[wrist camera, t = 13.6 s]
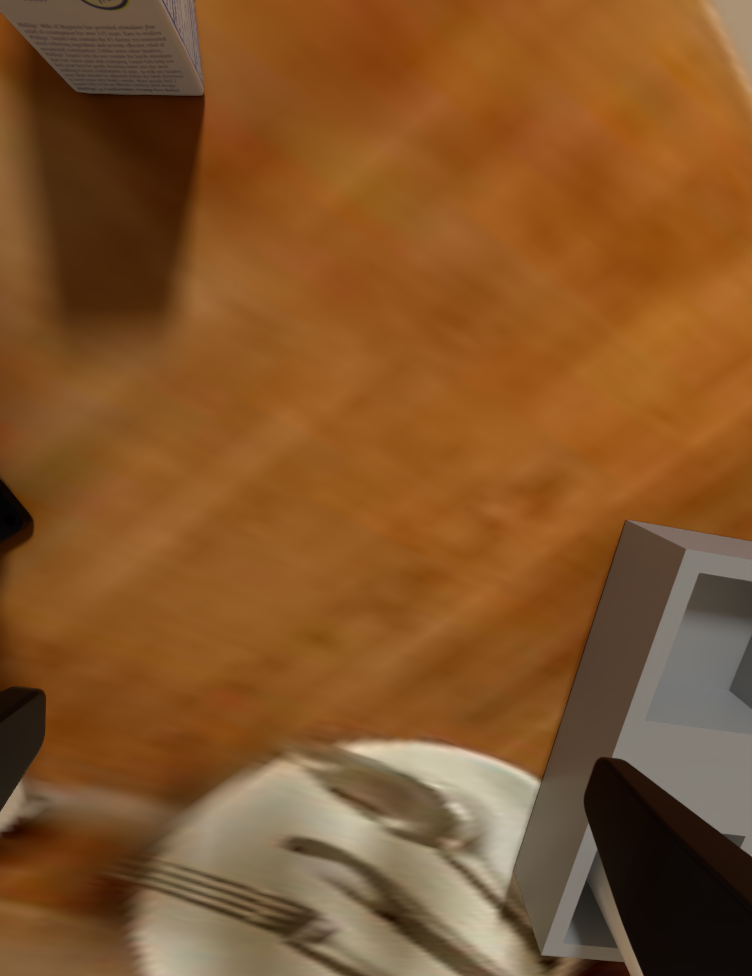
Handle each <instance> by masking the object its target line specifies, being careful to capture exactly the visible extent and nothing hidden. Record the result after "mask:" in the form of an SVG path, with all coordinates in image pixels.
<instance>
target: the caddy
mask: <svg viewBox="0 0 752 976" xmlns="http://www.w3.org/2000/svg"><path fill="white" fill-rule="evenodd" d="M599 757H610V758H619V759H623V760H625V761H627V762H628V763H629V764H631V765H632V766H633V767H635V768H636V769H637V770H639V771H640V772H641V773H643V774H644V775H645V776H646V777H648V778H649V779H650V780H652V781H653V782H654V783H656V784H657V785H658V786H660V787H661V788H662V789H664V790H665V791H666V792H668V793H669V794H670V795H671V796H673V797H674V798H675V799H677V800H678V801H679V802H681V803H682V804H683V805H685V806H686V807H687V808H689V809H690V810H691V811H693V812H694V813H695V814H696V815H698V816H699V817H700V818H702V819H703V820H704V821H706V822H707V823H708V824H710V825H711V826H712V827H714V828H715V829H716V830H718V831H719V832H720V833H721V834H723V835H724V836H725V837H727V838H728V839H729V840H731V841H732V842H733V843H735V844H736V845H737V846H739V847H740V848H741V849H742V850H744V851H745V852H746V853H748V854H749V855H750V856H752V541H746V540H741V539H735V538H729V537H723V536H717V535H712V534H706V533H700V532H694V531H689V530H683V529H677V528H671V527H665V526H660V525H654V524H648V523H642V522H637V521H631V520H626V522H625V525H624V528H623V532H622V535H621V538H620V541H619V544H618V547H617V550H616V553H615V556H614V560H613V563H612V566H611V569H610V572H609V575H608V578H607V581H606V585H605V588H604V591H603V594H602V597H601V600H600V603H599V606H598V609H597V613H596V616H595V619H594V622H593V625H592V628H591V631H590V634H589V637H588V641H587V644H586V647H585V650H584V653H583V656H582V659H581V662H580V665H579V669H578V672H577V675H576V678H575V681H574V684H573V687H572V690H571V693H570V697H569V700H568V703H567V706H566V709H565V712H564V715H563V718H562V722H561V725H560V728H559V731H558V734H557V737H556V740H555V743H554V746H553V750H552V753H551V756H550V759H549V762H548V765H547V768H546V771H545V774H544V778H543V781H542V784H541V787H540V790H539V793H538V796H537V799H536V802H535V806H534V809H533V812H532V815H531V818H530V821H529V824H528V827H527V830H526V834H525V837H524V840H523V843H522V846H521V849H520V852H519V855H518V859H517V862H516V865H515V868H514V874H515V877H516V880H517V883H518V886H519V889H520V892H521V895H522V898H523V901H524V904H525V907H526V910H527V913H528V916H529V919H530V922H531V925H532V929H533V932H534V935H535V938H536V941H537V944H538V947H539V950H540V953H541V955H545V956H558V957H570V958H582V959H595V960H607V961H619V962H624V960H623V958H622V955H621V953H620V951H619V949H618V947H617V945H616V942H615V940H614V938H613V936H612V934H611V932H610V929H609V927H608V925H607V923H606V921H605V919H604V916H603V914H602V912H601V910H600V908H599V905H598V903H597V901H596V899H595V897H594V895H593V892H592V890H591V888H590V886H589V884H588V882H587V879H586V878H587V876H588V873H589V870H590V868H591V865H592V862H593V860H594V857H595V854H596V851H597V847H596V844H595V841H594V838H593V835H592V832H591V829H590V826H589V823H588V820H587V817H586V814H585V810H584V802H583V799H584V792H585V789H586V787H587V784H588V781H589V778H590V775H591V772H592V769H593V766H594V763H595V761H596V760H597V759H598V758H599Z"/></svg>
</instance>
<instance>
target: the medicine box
mask: <svg viewBox="0 0 752 976" xmlns="http://www.w3.org/2000/svg"><path fill="white" fill-rule="evenodd" d="M0 12H1V13H2V14H3V15H4V16H5V17H6V18H7V19H8V20H9V21H10V23H11V24H12V25H13V26H14V27H15V28H16V29H17V30H18V31H19V32H20V34H21V35H22V36H23V37H24V38H25V39H26V40H27V41H28V42H29V43H30V44H31V45H32V46H33V47H34V48H35V49H36V50H37V51H38V52H39V54H40V55H41V56H42V57H43V58H44V59H45V60H46V61H47V62H48V63H49V65H50V66H51V67H52V68H53V69H54V70H55V71H56V72H57V73H58V74H59V75H60V76H61V77H62V78H63V79H64V80H65V81H66V82H67V83H68V84H69V85H70V86H71V87H72V88H73V89H74V90H75V91H76V92H82V93H87V94H117V95H175V96H202V95H203V93H204V86H203V77H202V68H201V59H200V50H199V41H198V32H197V22H196V13H195V4H194V0H0Z"/></svg>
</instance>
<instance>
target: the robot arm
mask: <svg viewBox="0 0 752 976" xmlns="http://www.w3.org/2000/svg"><path fill="white" fill-rule="evenodd" d="M11 515H13V516H14V517H15V518H16V520H17V523H14V522H13V521H12V519H11ZM29 523H30V516H29V514H28V512H27V511H26V510H25V508H24V507H23V506H22V505H21V504H20V502H19V501H18V500H17V499H16V498H15V496H14V495H13V494H12V493H11V492H10V490H9V489H8V488H7V487H6V486H5V484H4V483H3V482H2V481H1V480H0V544H1V543H3V542H4V541H6V540H7V539H9V538H11V537H12V536H14V535H15V534H17V533H18V532H20V531H22V530H23V529H25V528H26V527H27V526H28V525H29ZM45 716H46V695H45V693H44V691H43V690H41V689H38V688H30V687H22V686H14V687H11V688H8V689H6V690H3V691H1V692H0V811H1V809H2V808H3V807H4V805H5V804H6V802H7V800H8V799H9V797H10V796H11V794H12V793H13V791H14V789H15V788H16V786H17V785H18V783H19V782H20V780H21V779H22V777H23V775H24V774H25V772H26V771H27V769H28V768H29V766H30V764H31V763H32V761H33V760H34V758H35V757H36V755H37V753H38V752H39V750H40V748H41V746H42V743H43V740H44V736H45ZM583 802H584V810H585V814H586V817H587V820H588V823H589V826H590V829H591V832H592V835H593V838H594V841H595V844H596V847H597V850H598V853H599V856H600V859H601V862H602V865H603V868H604V871H605V874H606V877H607V880H608V883H609V886H610V889H611V892H612V896H613V899H614V902H615V905H616V907H617V910H618V913H619V916H620V919H621V921H622V924H623V927H624V929H625V932H626V934H627V937H628V940H629V942H630V945H631V947H632V950H633V952H634V954H635V957H636V959H637V962H638V964H639V966H640V969H641V971H642V974H643V976H752V856H750V855H749V854H748V853H746V852H745V851H744V850H742V849H741V848H740V847H739V846H737V845H736V844H735V843H733V842H732V841H731V840H729V839H728V838H727V837H725V836H724V835H723V834H721V833H720V832H719V831H718V830H716V829H715V828H714V827H712V826H711V825H710V824H708V823H707V822H706V821H704V820H703V819H702V818H700V817H699V816H698V815H696V814H695V813H694V812H693V811H691V810H690V809H689V808H687V807H686V806H685V805H683V804H682V803H681V802H679V801H678V800H677V799H675V798H674V797H673V796H671V795H670V794H669V793H668V792H666V791H665V790H664V789H662V788H661V787H660V786H658V785H657V784H656V783H654V782H653V781H652V780H650V779H649V778H648V777H646V776H645V775H644V774H643V773H641V772H640V771H639V770H637V769H636V768H635V767H633V766H632V765H631V764H629V763H628V762H627V761H625V760H623V759H619V758H610V757H599V758H598V759H597V760H596V761H595V763H594V766H593V769H592V772H591V775H590V778H589V781H588V784H587V787H586V789H585V792H584V799H583Z"/></svg>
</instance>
